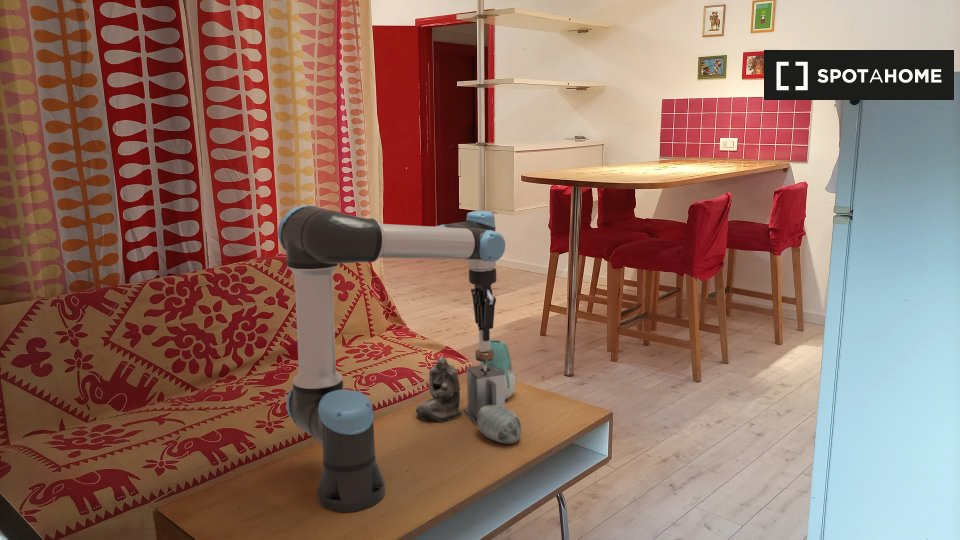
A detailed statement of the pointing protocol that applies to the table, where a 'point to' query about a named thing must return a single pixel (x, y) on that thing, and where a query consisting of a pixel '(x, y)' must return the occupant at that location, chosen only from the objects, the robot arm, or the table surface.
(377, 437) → the table surface
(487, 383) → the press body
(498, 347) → the vase
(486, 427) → the striped grey egg shape
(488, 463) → the table surface
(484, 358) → the plunger
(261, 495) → the table surface
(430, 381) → the figurine
